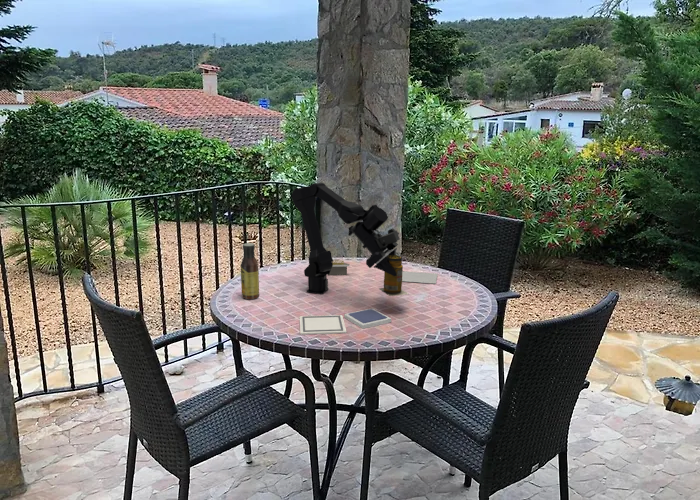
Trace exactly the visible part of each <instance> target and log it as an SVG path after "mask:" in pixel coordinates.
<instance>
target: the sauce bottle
mask: <svg viewBox="0 0 700 500" xmlns="http://www.w3.org/2000/svg"><path fill="white" fill-rule="evenodd" d="M242 249H243V257H242V261H241V263H240V284H241V285H240V287H241V296H242V298H243V299H244V298H245V299H244V300H255V298H256V299H257V298H259V296H260V281H259V280H260V278H259V275H260V274H259V272H260V271H259V261H258V260H257V258H256V257H255V243H252V242H247V243H244V244H242Z"/></svg>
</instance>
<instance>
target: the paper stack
mask: <svg viewBox="0 0 700 500" xmlns="http://www.w3.org/2000/svg"><path fill="white" fill-rule="evenodd" d="M437 280H438V273H435V272H434V273H433V272H432V273H431V272H419V271H418V272H417V271H403V272H402V282H408V283H409V282H410V283H422V284H437Z"/></svg>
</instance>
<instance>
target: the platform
mask: <svg viewBox="0 0 700 500" xmlns="http://www.w3.org/2000/svg"><path fill="white" fill-rule="evenodd" d="M332 262H333V266H332V268H331V271H330V274H327V276H348V267H350V263H347V262H345V261H344V260H342V259H338V262H337V259H333V261H332Z"/></svg>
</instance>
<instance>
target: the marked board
mask: <svg viewBox="0 0 700 500" xmlns="http://www.w3.org/2000/svg"><path fill="white" fill-rule="evenodd" d="M299 329H300V330H299V332H300V333H299V334H300V335H301V336H303V335H332V334H334V335H335V334H347V329H346V324H345V320H344V316H343V314H342V315H341V314H337V315H336V314H335V315H334V314H332V315H301V316H299Z"/></svg>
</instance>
